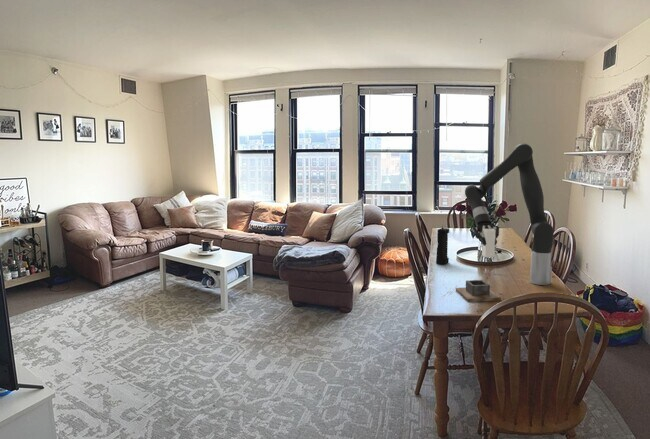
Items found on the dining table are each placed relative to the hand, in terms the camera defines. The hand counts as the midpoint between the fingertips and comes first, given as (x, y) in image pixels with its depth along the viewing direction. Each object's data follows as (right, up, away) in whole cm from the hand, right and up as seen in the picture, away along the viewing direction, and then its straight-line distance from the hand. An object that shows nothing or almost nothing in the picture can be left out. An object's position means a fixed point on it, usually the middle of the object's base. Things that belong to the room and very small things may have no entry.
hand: (490, 244), depth 204 cm
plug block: (0, -6, +3) cm, 7 cm away
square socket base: (-7, -25, -2) cm, 26 cm away
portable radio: (-7, -16, +57) cm, 60 cm away
